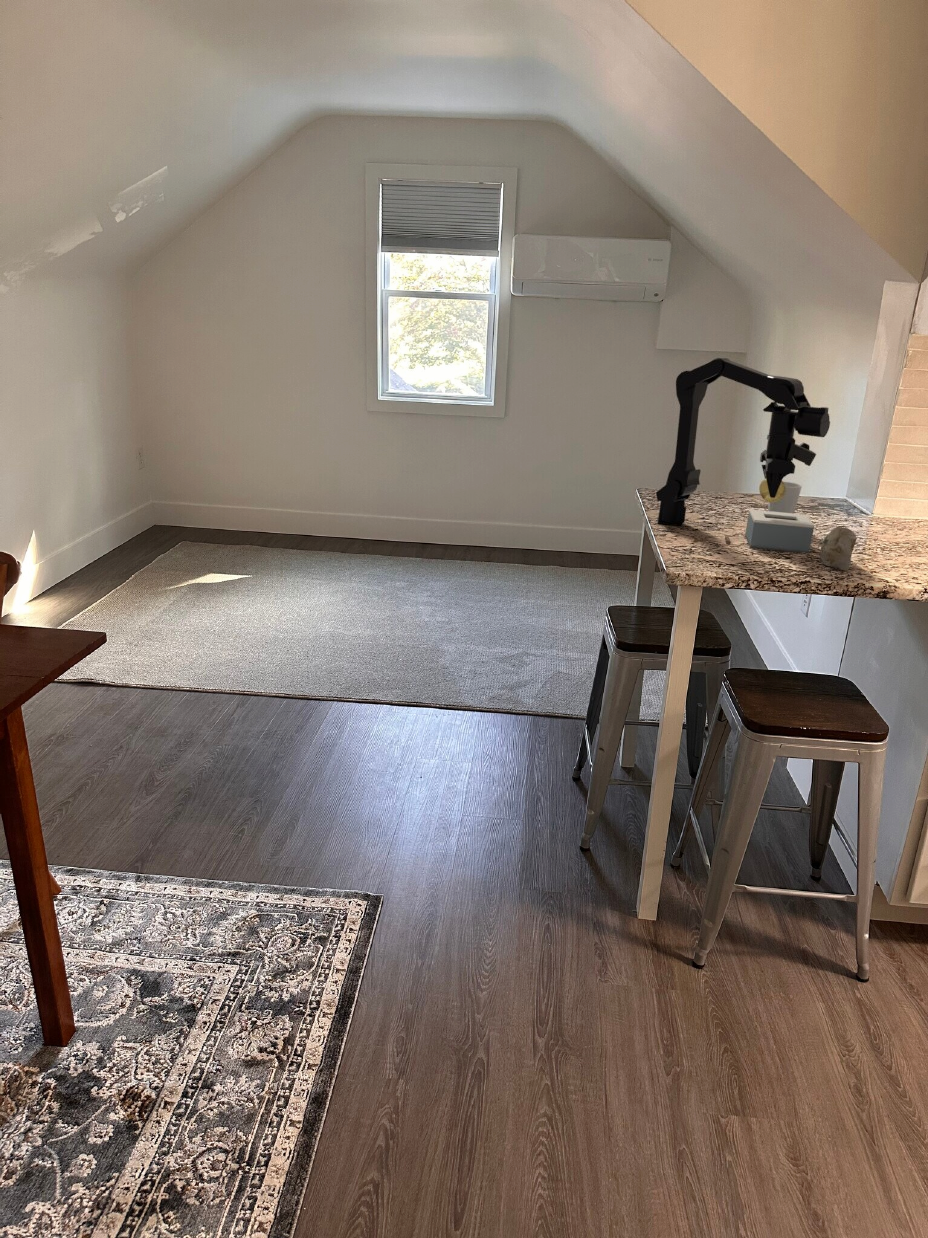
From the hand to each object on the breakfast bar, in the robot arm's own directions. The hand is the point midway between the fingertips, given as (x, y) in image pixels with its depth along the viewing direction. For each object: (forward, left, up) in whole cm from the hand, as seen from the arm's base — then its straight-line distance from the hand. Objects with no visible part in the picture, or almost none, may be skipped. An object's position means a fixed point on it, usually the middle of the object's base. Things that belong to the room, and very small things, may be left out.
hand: (771, 496), depth 223 cm
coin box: (+3, +1, -12) cm, 12 cm away
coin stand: (-13, -1, -12) cm, 18 cm away
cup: (+6, +20, -12) cm, 24 cm away
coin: (0, 0, -1) cm, 1 cm away
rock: (+14, -14, -12) cm, 24 cm away
